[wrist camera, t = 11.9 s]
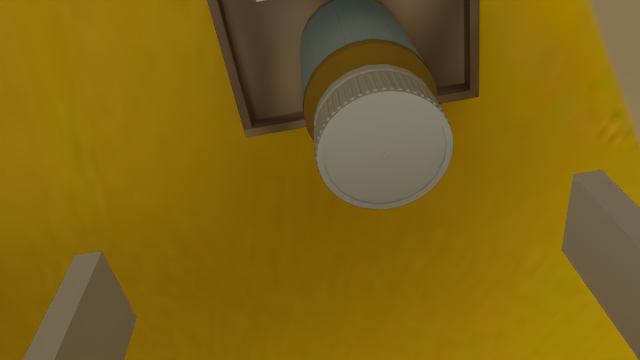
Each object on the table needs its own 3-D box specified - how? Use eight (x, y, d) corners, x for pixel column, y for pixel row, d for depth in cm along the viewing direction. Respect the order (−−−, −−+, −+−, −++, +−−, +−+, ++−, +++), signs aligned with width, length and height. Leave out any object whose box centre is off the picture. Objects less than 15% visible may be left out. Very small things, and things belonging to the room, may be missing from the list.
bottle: (280, 25, 34) (276, 129, 21) (374, -29, 32) (429, 49, 20) (329, 107, 37) (350, 238, 25) (415, 62, 36) (484, 177, 23)
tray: (248, 124, 38) (246, 137, 37) (181, -114, 30) (175, -112, 28) (470, 85, 38) (478, 96, 36) (469, -172, 29) (480, -173, 27)
